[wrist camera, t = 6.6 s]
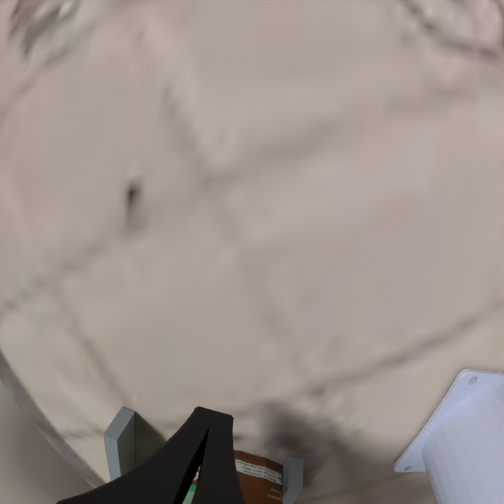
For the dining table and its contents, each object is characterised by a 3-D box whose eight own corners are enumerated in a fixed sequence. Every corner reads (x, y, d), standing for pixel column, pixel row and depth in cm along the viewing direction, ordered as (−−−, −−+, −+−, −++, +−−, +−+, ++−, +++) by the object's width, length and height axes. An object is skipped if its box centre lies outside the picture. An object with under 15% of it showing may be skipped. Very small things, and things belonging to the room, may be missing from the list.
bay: (303, 458, 15) (302, 491, 12) (247, 535, 18) (243, 557, 16) (122, 406, 15) (103, 434, 13) (129, 501, 19) (119, 520, 16)
